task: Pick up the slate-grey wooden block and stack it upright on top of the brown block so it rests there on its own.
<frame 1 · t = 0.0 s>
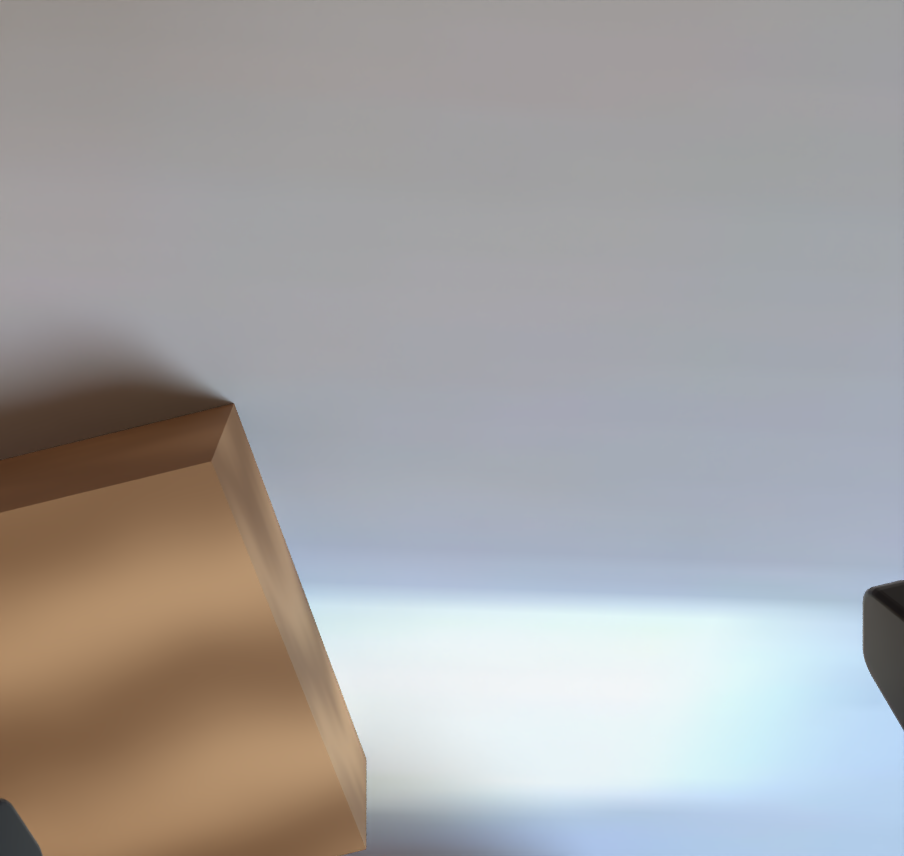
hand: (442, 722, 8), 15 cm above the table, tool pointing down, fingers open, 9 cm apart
brown block: (96, 645, 26), on the table
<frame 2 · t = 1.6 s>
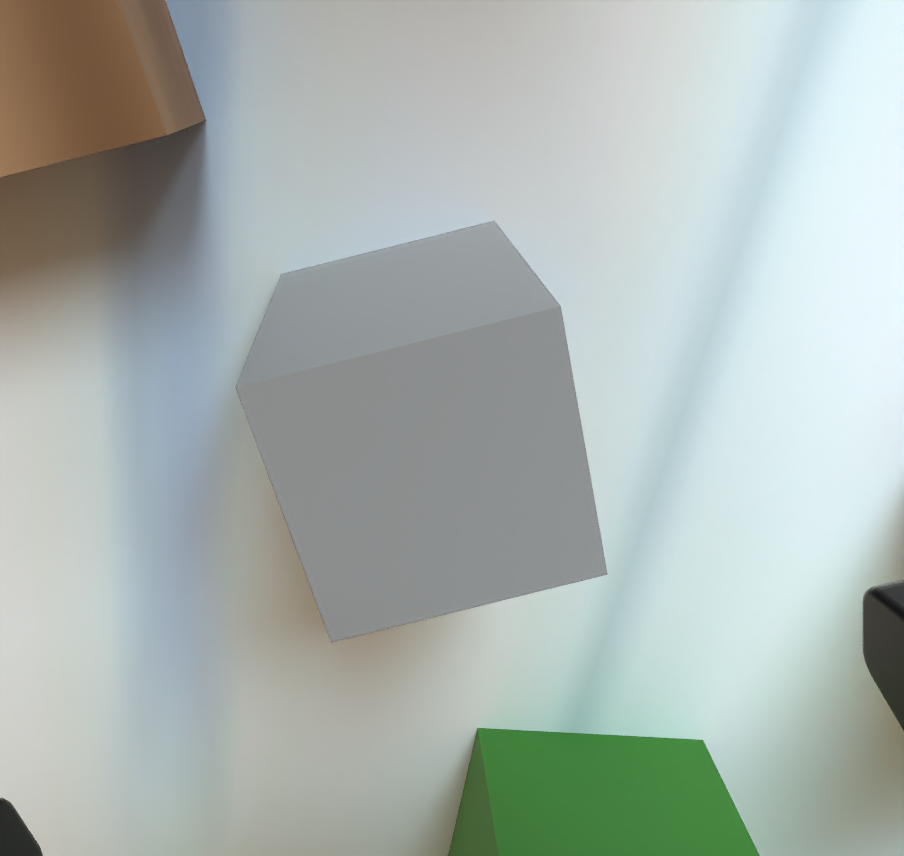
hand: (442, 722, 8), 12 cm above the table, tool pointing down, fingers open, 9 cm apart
grey block: (414, 348, 19), on the table
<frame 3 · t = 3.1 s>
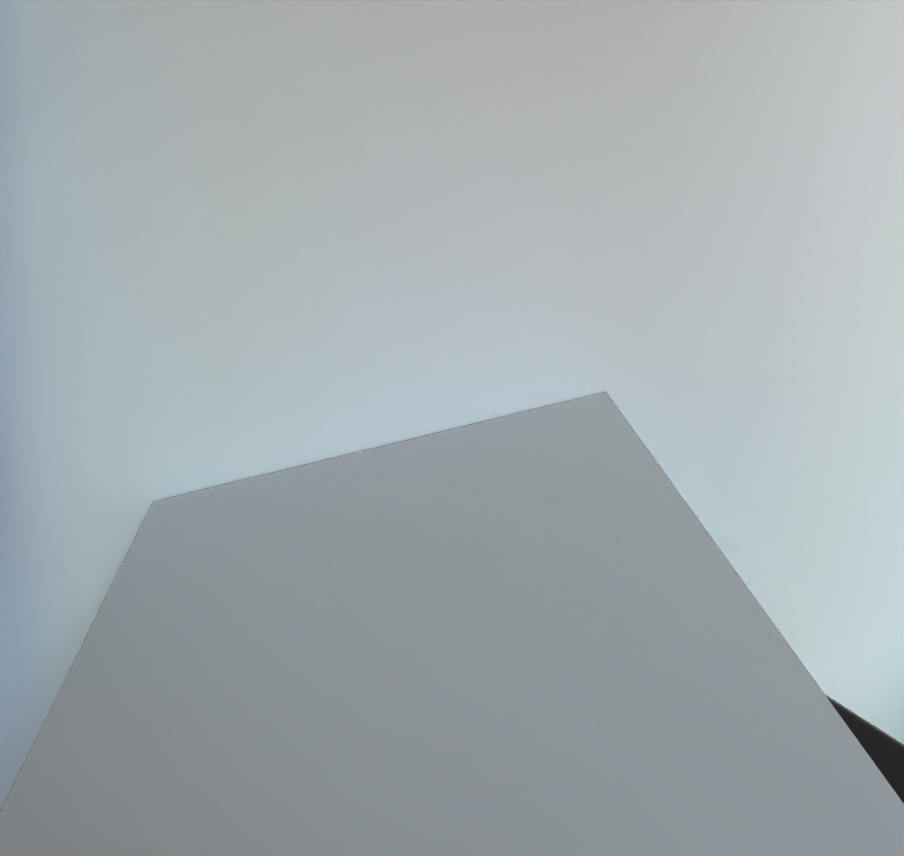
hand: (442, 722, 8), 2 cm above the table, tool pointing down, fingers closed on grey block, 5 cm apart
grey block: (431, 627, 10), on the table, touching gripper
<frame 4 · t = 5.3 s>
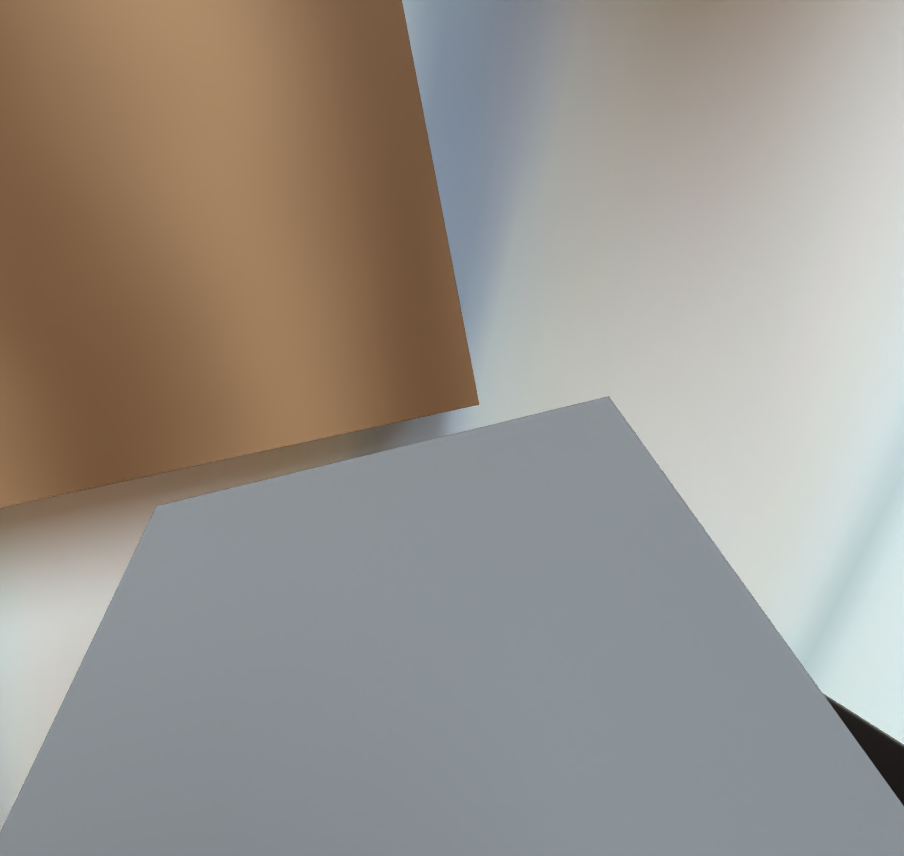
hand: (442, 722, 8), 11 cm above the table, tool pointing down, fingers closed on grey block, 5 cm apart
brown block: (48, 85, 16), on the table
grey block: (434, 630, 10), point 10 cm above the table, touching gripper
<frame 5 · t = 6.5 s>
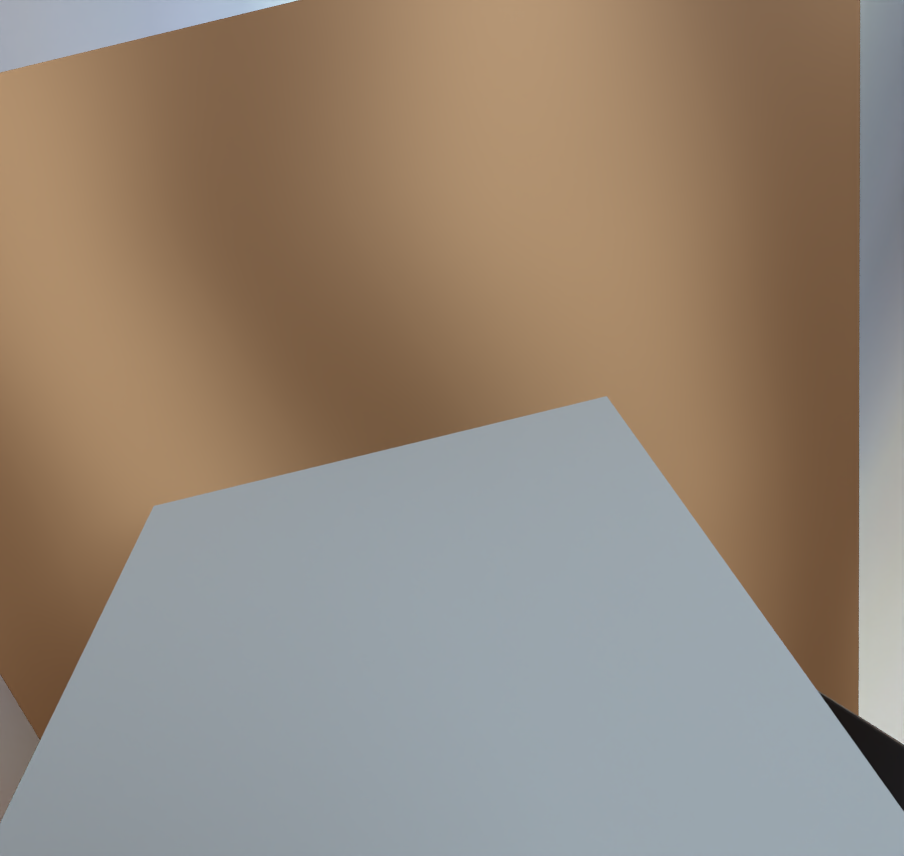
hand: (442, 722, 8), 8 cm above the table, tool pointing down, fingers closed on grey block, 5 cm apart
brown block: (402, 410, 16), on the table
grey block: (432, 631, 10), point 6 cm above the table, touching gripper
when the fingers open (7 cm above the table, at t = 7.4 s): grey block drops 2 cm, point 3 cm above the table.
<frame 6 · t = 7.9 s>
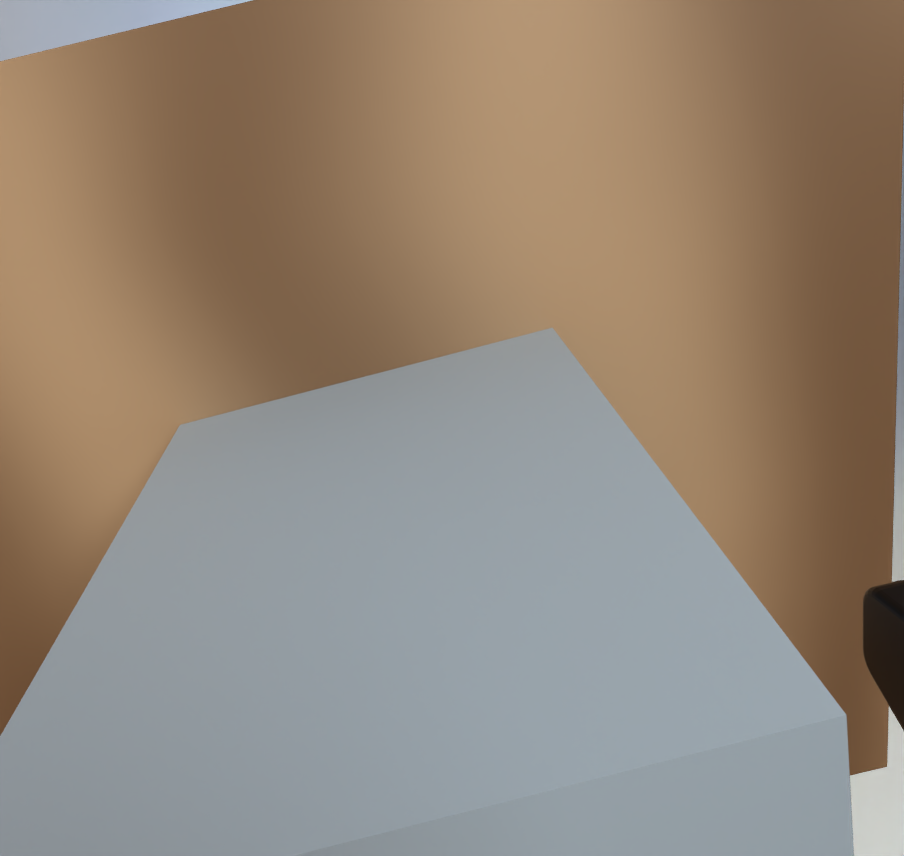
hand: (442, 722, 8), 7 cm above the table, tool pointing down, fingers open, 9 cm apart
brown block: (407, 423, 15), on the table
grey block: (414, 536, 11), point 3 cm above the table
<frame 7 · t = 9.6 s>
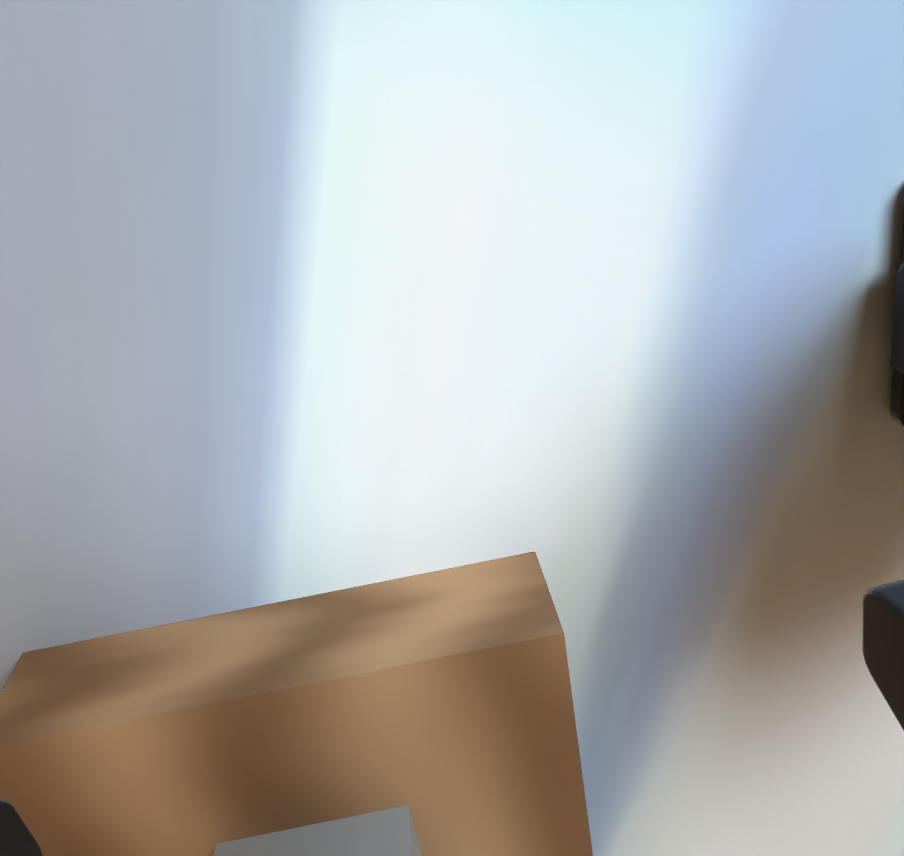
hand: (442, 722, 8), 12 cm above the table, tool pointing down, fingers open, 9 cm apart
brown block: (339, 768, 25), on the table, touching grey block
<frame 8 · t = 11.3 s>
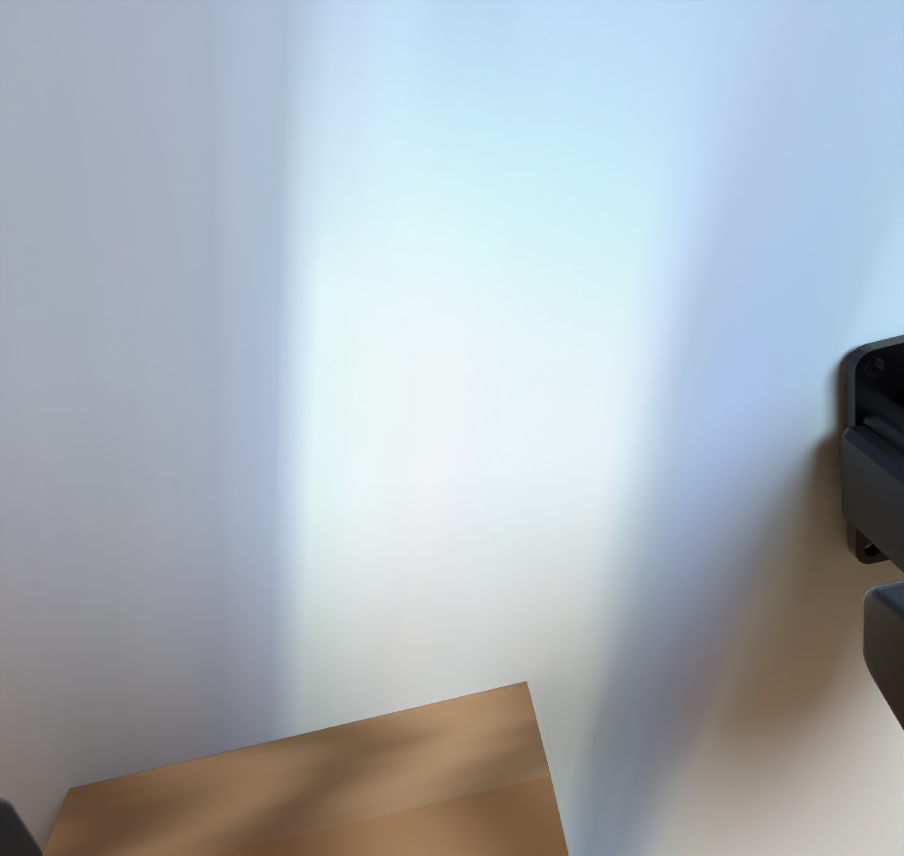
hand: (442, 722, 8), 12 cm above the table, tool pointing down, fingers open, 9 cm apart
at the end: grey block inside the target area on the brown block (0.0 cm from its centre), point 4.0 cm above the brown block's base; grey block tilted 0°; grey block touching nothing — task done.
